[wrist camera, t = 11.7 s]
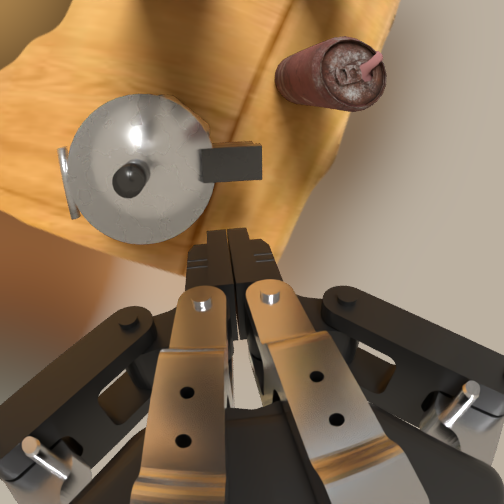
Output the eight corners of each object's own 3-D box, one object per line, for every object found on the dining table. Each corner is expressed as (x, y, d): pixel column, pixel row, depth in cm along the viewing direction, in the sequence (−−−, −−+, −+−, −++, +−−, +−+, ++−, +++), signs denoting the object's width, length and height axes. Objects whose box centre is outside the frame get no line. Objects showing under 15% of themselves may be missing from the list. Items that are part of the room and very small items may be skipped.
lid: (56, 113, 20) (34, 118, 17) (258, 83, 22) (266, 81, 19) (82, 245, 27) (68, 265, 24) (260, 230, 29) (267, 249, 25)
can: (336, 77, 29) (405, 75, 17) (303, 114, 31) (359, 129, 19) (297, 43, 27) (351, 17, 15) (262, 81, 29) (299, 72, 17)
